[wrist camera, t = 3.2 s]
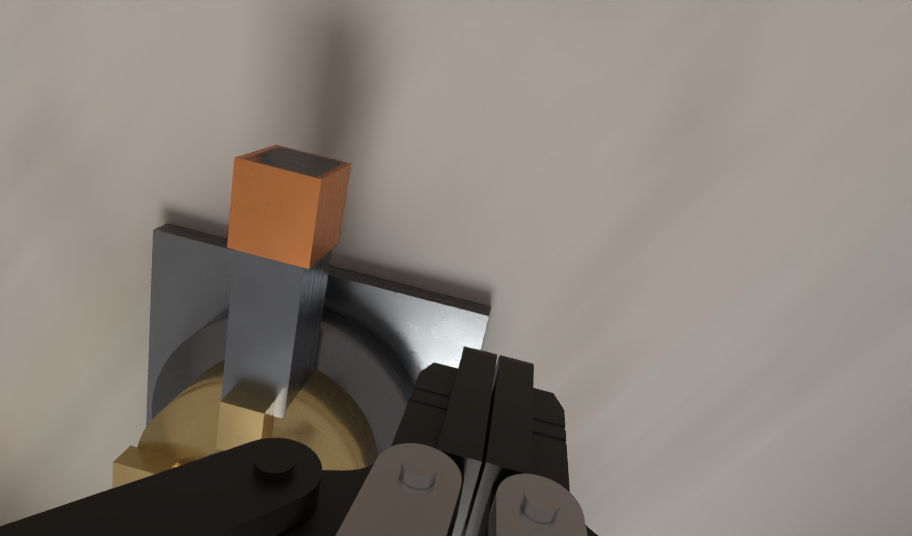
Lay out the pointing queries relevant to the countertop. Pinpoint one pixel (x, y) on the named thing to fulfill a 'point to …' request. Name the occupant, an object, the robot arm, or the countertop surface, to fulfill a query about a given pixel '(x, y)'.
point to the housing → (340, 339)
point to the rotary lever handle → (268, 329)
